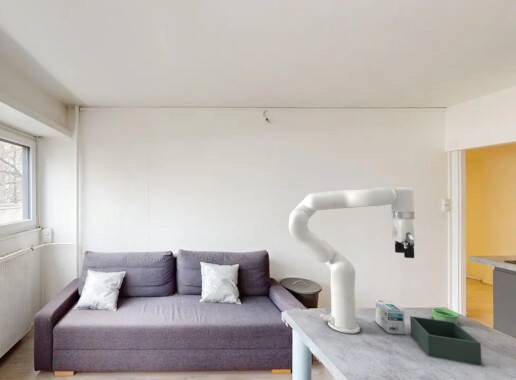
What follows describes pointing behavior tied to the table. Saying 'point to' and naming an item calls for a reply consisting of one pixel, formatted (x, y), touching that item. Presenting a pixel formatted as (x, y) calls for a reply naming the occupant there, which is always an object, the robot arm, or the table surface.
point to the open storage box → (445, 340)
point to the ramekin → (445, 315)
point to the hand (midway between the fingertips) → (404, 255)
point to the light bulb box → (390, 317)
